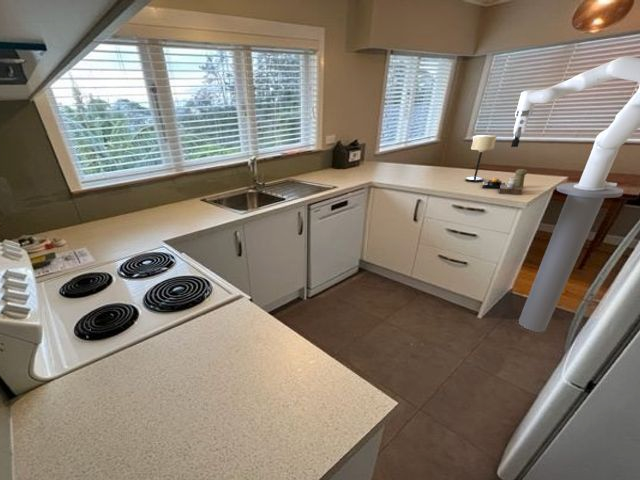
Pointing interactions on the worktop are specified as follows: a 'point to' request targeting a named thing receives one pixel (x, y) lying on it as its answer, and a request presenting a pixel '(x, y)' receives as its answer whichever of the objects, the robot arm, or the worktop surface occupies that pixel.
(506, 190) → the dimmer panel
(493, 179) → the lamp button
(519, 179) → the olive upright piece
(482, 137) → the lamp
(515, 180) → the dimmer knob
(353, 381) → the worktop surface
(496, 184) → the switch block
